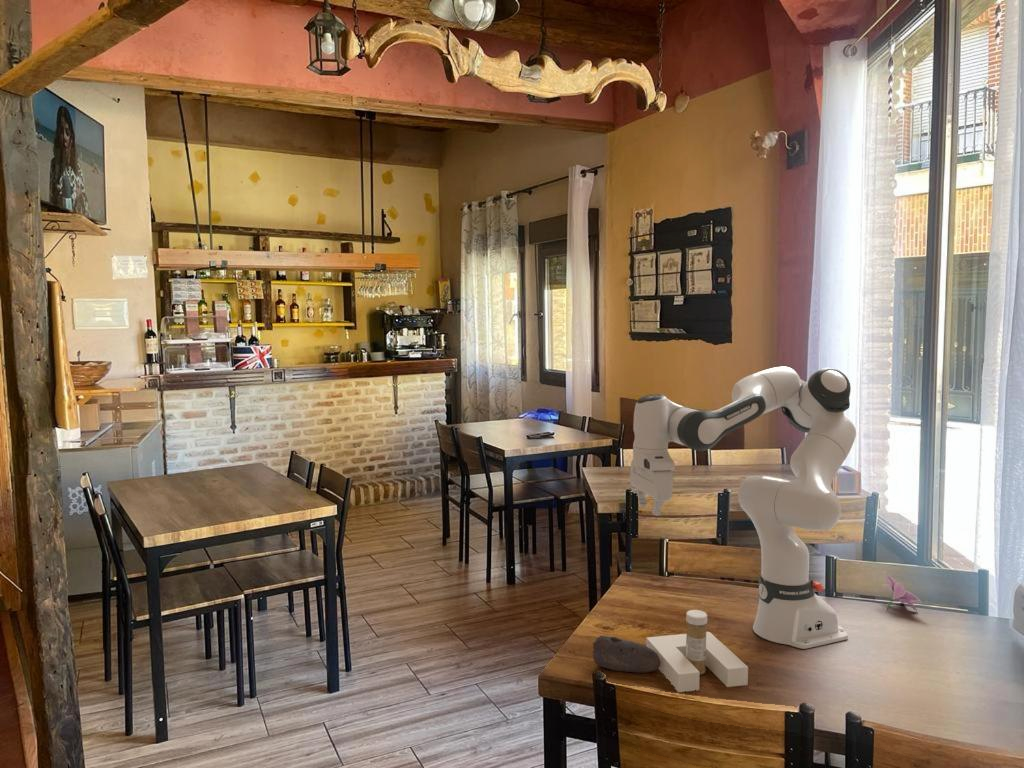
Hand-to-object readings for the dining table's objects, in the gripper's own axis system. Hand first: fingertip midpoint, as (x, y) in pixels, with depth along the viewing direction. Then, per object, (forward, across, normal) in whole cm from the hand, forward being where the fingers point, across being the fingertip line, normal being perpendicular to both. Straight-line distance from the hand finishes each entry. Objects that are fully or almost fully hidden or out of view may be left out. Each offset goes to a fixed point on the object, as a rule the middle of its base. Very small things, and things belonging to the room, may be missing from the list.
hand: (649, 510), depth 188 cm
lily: (+29, +8, +69) cm, 76 cm away
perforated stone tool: (+30, +25, -15) cm, 42 cm away
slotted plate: (+29, +28, 0) cm, 40 cm away
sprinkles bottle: (+29, +29, 0) cm, 41 cm away
